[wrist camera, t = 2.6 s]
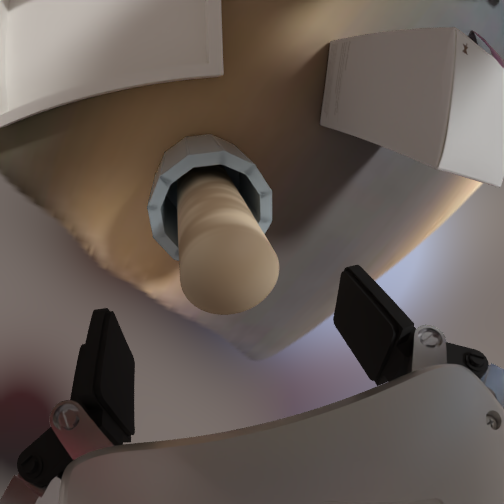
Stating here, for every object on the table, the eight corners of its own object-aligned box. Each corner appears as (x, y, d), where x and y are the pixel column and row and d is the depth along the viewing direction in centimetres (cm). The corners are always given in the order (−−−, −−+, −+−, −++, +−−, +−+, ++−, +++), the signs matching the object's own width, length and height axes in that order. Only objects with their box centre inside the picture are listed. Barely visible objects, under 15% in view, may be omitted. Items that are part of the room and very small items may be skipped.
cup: (244, 130, 24) (272, 146, 17) (248, 214, 28) (272, 257, 22) (151, 141, 22) (139, 162, 16) (163, 226, 27) (161, 275, 20)
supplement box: (316, 126, 25) (434, 172, 13) (328, 39, 21) (454, 21, 8) (389, 141, 28) (502, 192, 15) (401, 65, 23) (521, 82, 11)
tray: (215, -55, 14) (220, -69, 11) (218, 77, 21) (223, 74, 18) (7, -2, 10) (-8, -8, 8) (7, 125, 17) (-9, 131, 15)
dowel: (226, 154, 24) (280, 224, 12) (229, 202, 26) (278, 305, 14) (174, 161, 23) (171, 239, 11) (180, 209, 25) (189, 321, 14)
